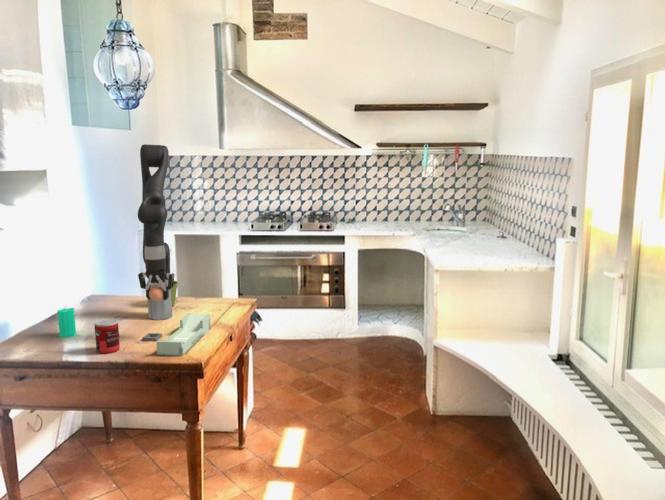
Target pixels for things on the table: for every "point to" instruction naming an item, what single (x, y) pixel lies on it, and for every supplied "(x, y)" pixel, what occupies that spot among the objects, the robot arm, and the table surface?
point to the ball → (156, 293)
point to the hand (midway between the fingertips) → (157, 299)
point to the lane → (185, 335)
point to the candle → (66, 322)
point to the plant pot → (174, 292)
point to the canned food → (107, 336)
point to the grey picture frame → (152, 337)
